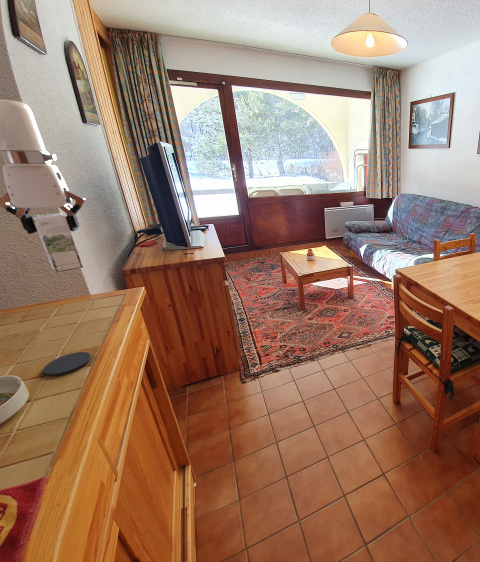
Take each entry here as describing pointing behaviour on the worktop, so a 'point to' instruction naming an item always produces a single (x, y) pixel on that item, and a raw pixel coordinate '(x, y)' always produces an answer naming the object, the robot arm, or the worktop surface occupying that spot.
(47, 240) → the syrup box
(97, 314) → the worktop surface
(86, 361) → the coaster
